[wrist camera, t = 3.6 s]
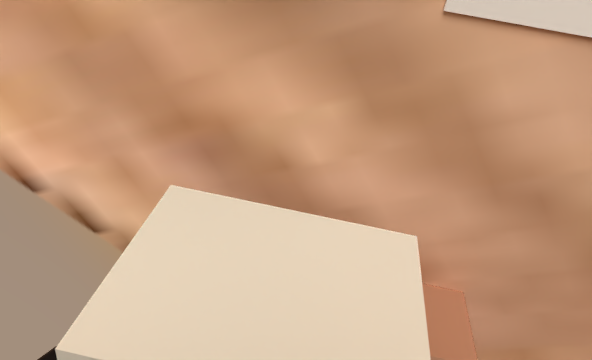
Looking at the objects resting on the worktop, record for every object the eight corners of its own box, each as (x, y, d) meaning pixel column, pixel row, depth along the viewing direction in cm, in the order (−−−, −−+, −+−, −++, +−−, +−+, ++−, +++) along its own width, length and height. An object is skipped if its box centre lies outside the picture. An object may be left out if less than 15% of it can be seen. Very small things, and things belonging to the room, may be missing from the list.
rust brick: (462, 290, 21) (478, 366, 18) (429, 358, 24) (438, 436, 20) (353, 266, 21) (348, 337, 18) (332, 337, 24) (325, 410, 20)
